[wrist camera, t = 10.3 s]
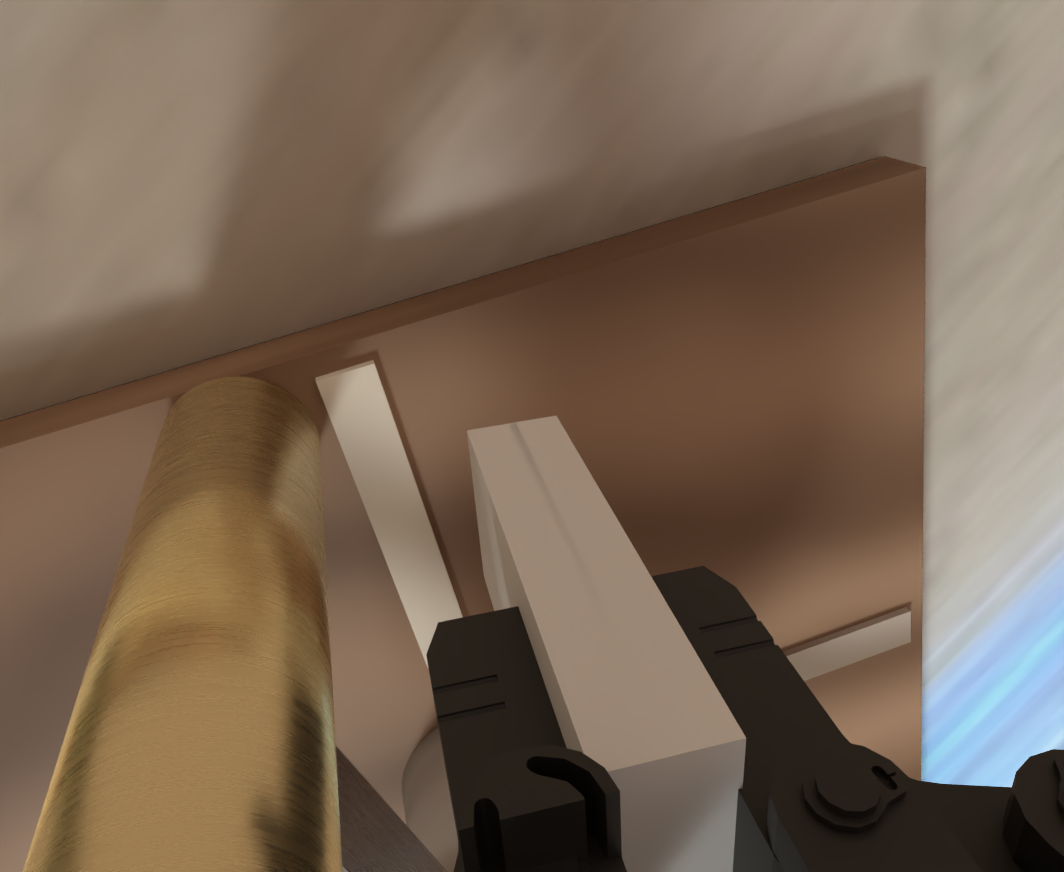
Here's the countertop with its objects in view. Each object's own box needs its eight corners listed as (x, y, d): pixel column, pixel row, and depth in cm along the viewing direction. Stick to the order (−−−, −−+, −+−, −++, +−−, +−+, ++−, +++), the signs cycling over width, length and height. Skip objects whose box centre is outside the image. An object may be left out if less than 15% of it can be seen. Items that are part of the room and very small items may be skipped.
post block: (894, 845, 32) (1083, 1114, 25) (218, 1112, 30) (190, 1508, 22) (884, 156, 20) (1270, 260, 12) (-306, 514, 17) (-819, 953, 9)
